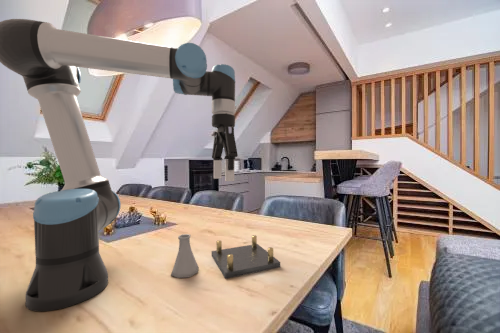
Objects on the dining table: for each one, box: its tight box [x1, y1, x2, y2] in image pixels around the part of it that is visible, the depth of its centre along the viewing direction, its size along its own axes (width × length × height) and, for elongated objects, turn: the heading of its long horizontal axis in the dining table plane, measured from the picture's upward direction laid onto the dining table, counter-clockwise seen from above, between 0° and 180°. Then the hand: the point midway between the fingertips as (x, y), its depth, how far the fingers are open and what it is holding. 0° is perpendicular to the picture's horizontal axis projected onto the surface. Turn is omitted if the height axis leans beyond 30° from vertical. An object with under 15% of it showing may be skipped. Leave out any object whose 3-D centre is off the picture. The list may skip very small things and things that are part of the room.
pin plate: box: [211, 235, 281, 280], centre depth 69 cm, size 16×16×5 cm
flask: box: [170, 233, 200, 279], centre depth 63 cm, size 7×7×10 cm
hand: (223, 179), depth 76 cm, fingers open, 13 cm apart
